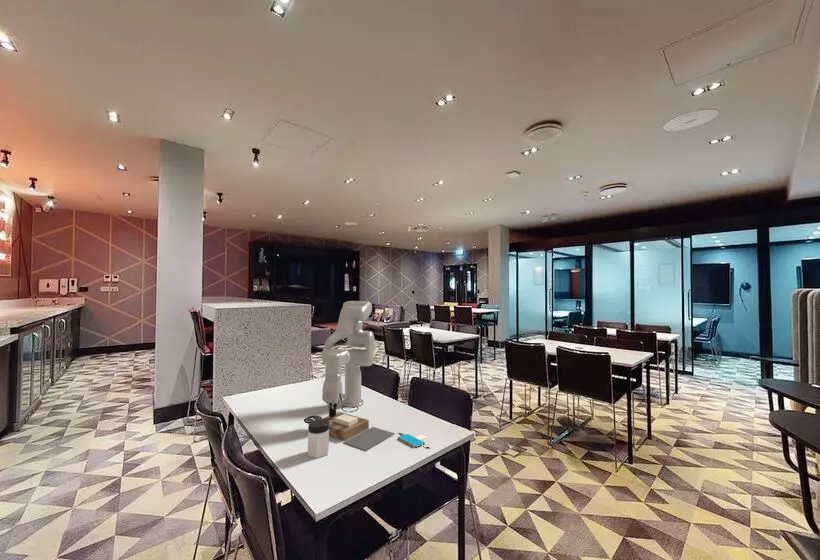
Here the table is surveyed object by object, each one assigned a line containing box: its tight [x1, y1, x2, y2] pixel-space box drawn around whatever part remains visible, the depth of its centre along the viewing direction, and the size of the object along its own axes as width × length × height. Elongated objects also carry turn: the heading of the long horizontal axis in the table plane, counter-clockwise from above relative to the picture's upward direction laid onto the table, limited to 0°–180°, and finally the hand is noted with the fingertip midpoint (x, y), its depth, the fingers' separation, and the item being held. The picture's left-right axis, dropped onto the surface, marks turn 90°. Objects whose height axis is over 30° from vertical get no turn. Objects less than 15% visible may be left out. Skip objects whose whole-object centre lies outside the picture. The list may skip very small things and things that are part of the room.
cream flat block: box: [335, 413, 358, 426], centre depth 157 cm, size 9×6×2 cm, turn 57°
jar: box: [307, 418, 330, 459], centre depth 135 cm, size 9×8×12 cm
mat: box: [343, 426, 395, 452], centre depth 149 cm, size 13×20×1 cm, turn 147°
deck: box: [318, 411, 370, 442], centre depth 158 cm, size 20×16×4 cm
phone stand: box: [397, 432, 428, 448], centre depth 147 cm, size 20×12×2 cm, turn 41°
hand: (332, 416), depth 162 cm, fingers closed
